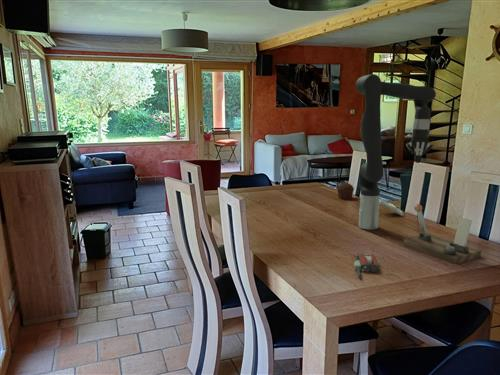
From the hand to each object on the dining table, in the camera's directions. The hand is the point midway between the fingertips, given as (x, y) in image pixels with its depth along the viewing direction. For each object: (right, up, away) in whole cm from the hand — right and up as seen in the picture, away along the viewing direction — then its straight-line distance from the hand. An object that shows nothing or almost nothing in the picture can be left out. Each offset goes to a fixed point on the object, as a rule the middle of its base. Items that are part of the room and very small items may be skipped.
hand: (417, 162), depth 201 cm
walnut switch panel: (-4, -40, -33) cm, 52 cm away
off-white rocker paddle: (-1, -37, -41) cm, 55 cm away
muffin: (-21, -20, +66) cm, 72 cm away
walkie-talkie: (-41, -44, -51) cm, 79 cm away
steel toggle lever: (-8, -34, -27) cm, 44 cm away
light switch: (-5, -28, +25) cm, 38 cm away
